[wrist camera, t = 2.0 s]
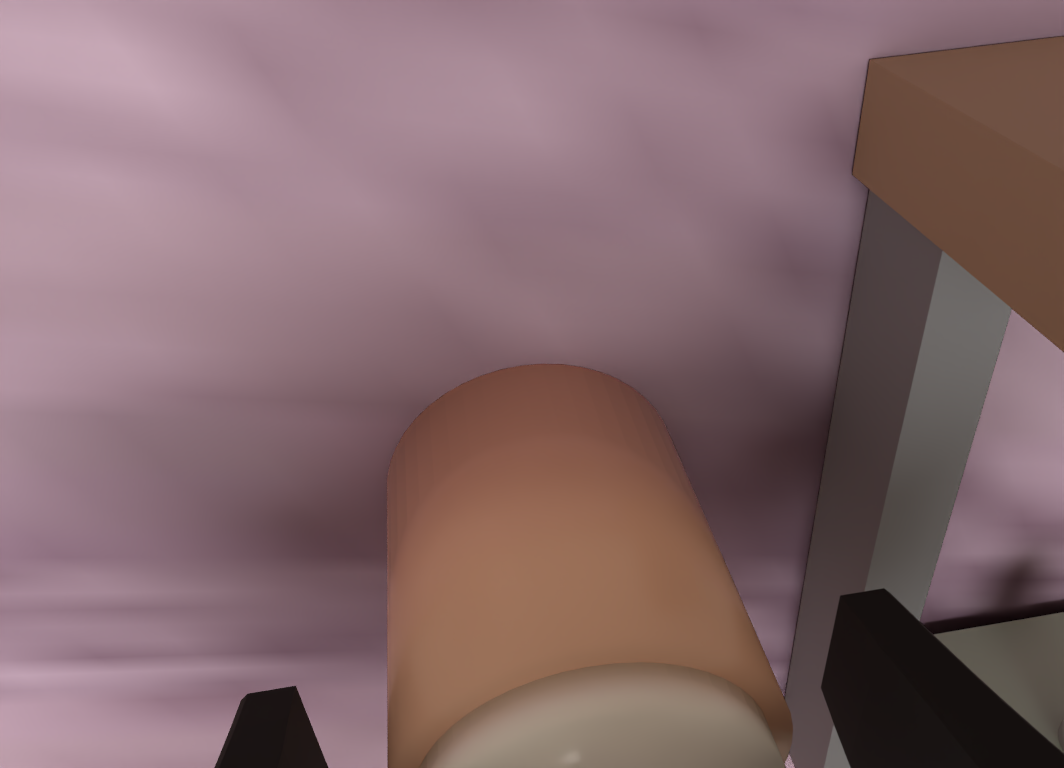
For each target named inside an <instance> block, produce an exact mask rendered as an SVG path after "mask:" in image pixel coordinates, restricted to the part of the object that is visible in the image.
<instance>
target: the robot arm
mask: <svg viewBox="0 0 1064 768" xmlns="http://www.w3.org/2000/svg"><path fill="white" fill-rule="evenodd" d="M821 690H822V692H823V695H824V698H825V701H826V704H827V706H828V709H829V712H830V715H831V718H832V720H833V723H834V726H835V729H836V731H837V734H838V736H839V739H840V742H841V744H842V747H843V749H844V752H845V755H846V757H847V760H848V762H849V765H850V767H851V768H1064V753H1063V752H1062V751H1061V750H1060V749H1058V748H1057V747H1056V746H1055V745H1054V744H1053V743H1051V742H1050V741H1049V740H1048V739H1047V738H1046V737H1044V736H1043V735H1042V734H1041V733H1040V732H1039V731H1038V730H1037V729H1035V728H1034V727H1033V726H1032V725H1031V724H1030V723H1029V722H1028V721H1026V720H1025V719H1024V718H1023V717H1022V716H1021V715H1020V714H1019V713H1017V712H1016V711H1015V710H1014V709H1013V708H1012V707H1011V706H1010V705H1008V704H1007V703H1006V702H1005V701H1004V700H1003V699H1002V698H1000V697H999V696H998V695H997V694H996V693H995V692H994V691H993V690H992V689H991V688H990V687H988V686H987V685H986V684H985V683H984V682H983V681H982V680H981V679H980V678H979V677H978V676H977V675H976V674H974V673H973V672H972V671H971V670H970V669H969V668H968V667H967V666H966V665H965V664H964V663H963V662H962V661H961V660H960V659H958V658H957V657H956V656H955V655H954V654H953V653H952V652H951V651H950V650H949V649H948V648H947V647H946V646H945V645H944V644H943V643H942V642H941V641H940V640H939V639H937V638H936V637H935V636H934V635H933V634H932V633H931V632H930V631H929V630H928V629H927V628H926V627H925V626H924V625H923V624H922V623H921V622H920V621H919V620H918V619H917V618H916V617H915V616H914V615H913V614H912V613H911V612H910V611H908V610H907V609H906V608H905V607H904V606H903V605H902V604H901V603H900V602H899V601H898V600H897V599H896V598H895V597H894V596H893V595H892V594H891V593H890V592H888V591H887V590H886V589H884V588H882V589H876V590H870V591H864V592H858V593H852V594H846V595H840V599H839V603H838V608H837V613H836V618H835V622H834V627H833V632H832V637H831V641H830V646H829V651H828V655H827V660H826V665H825V670H824V674H823V679H822V684H821ZM215 768H328V766H327V763H326V761H325V758H324V756H323V753H322V751H321V748H320V746H319V743H318V741H317V738H316V736H315V733H314V731H313V728H312V726H311V723H310V721H309V718H308V716H307V713H306V711H305V708H304V706H303V703H302V700H301V698H300V695H299V693H298V690H297V688H296V686H292V687H286V688H280V689H274V690H268V691H262V692H256V693H250V694H247V695H246V696H245V697H244V698H243V699H242V700H241V702H240V705H239V707H238V710H237V713H236V715H235V718H234V721H233V723H232V726H231V728H230V731H229V733H228V736H227V738H226V741H225V743H224V746H223V748H222V751H221V753H220V756H219V758H218V761H217V763H216V765H215Z"/></svg>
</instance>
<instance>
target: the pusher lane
mask: <svg viewBox="0 0 1064 768" xmlns="http://www.w3.org/2000/svg"><path fill="white" fill-rule="evenodd" d="M852 175H853V176H854V177H855V178H857V179H858V180H859V181H860V182H861V183H863V184H864V185H865V186H866V187H867V188H869V189H870V190H869V196H868V202H867V208H866V214H865V220H864V226H863V232H862V238H861V244H860V250H859V256H858V262H857V268H856V274H855V280H854V286H853V292H852V298H851V304H850V310H849V316H848V322H847V328H846V334H845V340H844V346H843V352H842V358H841V364H840V370H839V376H838V382H837V388H836V394H835V400H834V406H833V412H832V418H831V424H830V430H829V436H828V442H827V448H826V454H825V460H824V466H823V472H822V478H821V484H820V490H819V496H818V502H817V508H816V514H815V520H814V526H813V532H812V538H811V544H810V550H809V556H808V562H807V568H806V574H805V580H804V586H803V592H802V598H801V604H800V610H799V616H798V622H797V628H796V634H795V640H794V646H793V652H792V659H791V665H790V671H789V677H788V683H787V689H786V695H785V701H786V703H787V706H788V708H789V710H790V713H791V718H792V724H793V735H792V744H791V747H790V751H789V754H790V756H791V759H792V761H793V764H794V766H795V768H851V767H850V765H849V762H848V760H847V757H846V755H845V752H844V749H843V747H842V744H841V742H840V739H839V736H838V734H837V731H836V729H835V726H834V723H833V720H832V718H831V715H830V712H829V709H828V706H827V704H826V701H825V698H824V695H823V692H822V690H821V684H822V679H823V674H824V670H825V665H826V660H827V655H828V651H829V646H830V641H831V637H832V632H833V627H834V622H835V618H836V613H837V608H838V603H839V599H840V595H846V594H852V593H858V592H864V591H870V590H876V589H882V588H884V589H886V590H887V591H888V592H890V593H891V594H892V595H893V596H894V597H895V598H896V599H897V600H898V601H899V602H900V603H901V604H902V605H903V606H904V607H905V608H906V609H907V610H908V611H910V612H911V613H912V614H913V615H914V616H915V617H916V618H917V619H918V620H919V621H920V618H921V614H922V611H923V607H924V604H925V601H926V597H927V594H928V591H929V587H930V584H931V580H932V577H933V574H934V570H935V567H936V563H937V560H938V557H939V553H940V550H941V547H942V543H943V540H944V536H945V533H946V530H947V526H948V523H949V519H950V516H951V513H952V509H953V506H954V503H955V499H956V496H957V492H958V489H959V486H960V482H961V479H962V475H963V472H964V469H965V465H966V462H967V459H968V455H969V452H970V448H971V445H972V442H973V438H974V435H975V431H976V428H977V425H978V421H979V418H980V415H981V411H982V408H983V404H984V401H985V398H986V394H987V391H988V387H989V384H990V381H991V377H992V374H993V371H994V367H995V364H996V360H997V357H998V354H999V350H1000V347H1001V343H1002V340H1003V337H1004V333H1005V330H1006V327H1007V323H1008V320H1009V316H1010V313H1011V310H1012V309H1013V310H1014V311H1015V312H1016V313H1018V314H1019V315H1020V316H1021V317H1022V318H1024V319H1025V320H1026V321H1027V322H1028V323H1030V324H1031V325H1032V326H1033V327H1034V328H1036V329H1037V330H1038V331H1039V332H1040V333H1042V334H1043V335H1044V336H1045V337H1046V338H1047V339H1049V340H1050V341H1051V342H1052V343H1053V344H1055V345H1056V346H1057V347H1058V348H1059V349H1061V350H1062V351H1063V352H1064V36H1062V37H1053V38H1045V39H1037V40H1028V41H1020V42H1012V43H1003V44H995V45H987V46H978V47H970V48H962V49H954V50H945V51H937V52H929V53H920V54H912V55H904V56H895V57H887V58H879V59H871V60H870V62H869V68H868V75H867V82H866V88H865V95H864V101H863V108H862V114H861V121H860V128H859V134H858V141H857V147H856V154H855V160H854V167H853V174H852Z"/></svg>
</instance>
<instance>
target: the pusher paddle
mask: <svg viewBox="0 0 1064 768" xmlns="http://www.w3.org/2000/svg"><path fill="white" fill-rule="evenodd" d="M933 635H934V636H935V637H936V638H937V639H939V640H940V641H941V642H942V643H943V644H944V645H945V646H946V647H947V648H948V649H949V650H950V651H951V652H952V653H953V654H954V655H955V656H956V657H957V658H958V659H960V660H961V661H962V662H963V663H964V664H965V665H966V666H967V667H968V668H969V669H970V670H971V671H972V672H973V673H974V674H976V675H977V676H978V677H979V678H980V679H981V680H982V681H983V682H984V683H985V684H986V685H987V686H988V687H990V688H991V689H992V690H993V691H994V692H995V693H996V694H997V695H998V696H999V697H1000V698H1002V699H1003V700H1004V701H1005V702H1006V703H1007V704H1008V705H1010V706H1011V707H1012V708H1013V709H1014V710H1015V711H1016V712H1017V713H1019V714H1020V715H1021V716H1022V717H1023V718H1024V719H1025V720H1026V721H1028V722H1029V723H1030V724H1031V725H1032V726H1033V727H1034V728H1035V729H1037V730H1038V731H1039V732H1040V733H1041V734H1042V735H1043V736H1044V737H1046V738H1047V739H1048V740H1049V741H1050V742H1051V743H1053V744H1054V745H1055V746H1056V747H1057V748H1058V749H1060V750H1061V751H1062V752H1063V753H1064V612H1061V613H1056V614H1050V615H1044V616H1038V617H1032V618H1026V619H1021V620H1015V621H1009V622H1003V623H997V624H992V625H986V626H980V627H974V628H968V629H962V630H957V631H951V632H945V633H939V634H933Z"/></svg>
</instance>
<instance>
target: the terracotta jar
mask: <svg viewBox="0 0 1064 768" xmlns="http://www.w3.org/2000/svg"><path fill="white" fill-rule="evenodd" d="M387 713H388V768H786V767H785V764H784V763H785V761H786V759H787V757H788V754H789V751H790V747H791V744H792V735H793V724H792V718H791V713H790V710H789V708H788V706H787V703H786V701H785V699H784V696H783V694H782V692H781V689H780V687H779V685H778V683H777V680H776V678H775V676H774V673H773V671H772V669H771V667H770V664H769V662H768V660H767V657H766V655H765V653H764V651H763V648H762V646H761V644H760V641H759V639H758V637H757V634H756V632H755V630H754V628H753V625H752V623H751V621H750V618H749V616H748V614H747V612H746V609H745V607H744V605H743V602H742V600H741V598H740V596H739V593H738V591H737V589H736V586H735V584H734V582H733V580H732V577H731V575H730V573H729V570H728V568H727V566H726V563H725V561H724V559H723V557H722V554H721V552H720V550H719V547H718V545H717V543H716V541H715V538H714V536H713V534H712V531H711V529H710V527H709V525H708V522H707V520H706V518H705V515H704V513H703V511H702V509H701V506H700V504H699V502H698V499H697V497H696V495H695V492H694V490H693V488H692V486H691V483H690V481H689V479H688V476H687V474H686V472H685V470H684V467H683V465H682V463H681V460H680V458H679V456H678V454H677V451H676V449H675V447H674V444H673V442H672V440H671V438H670V435H669V433H668V431H667V428H666V426H665V424H664V421H663V420H662V418H661V417H660V415H659V414H658V412H657V411H656V409H655V408H654V407H653V406H652V405H651V404H650V403H649V402H648V400H647V399H646V398H645V397H644V396H642V395H641V394H640V393H638V392H637V391H636V390H635V389H633V388H632V387H630V386H629V385H627V384H625V383H623V382H622V381H620V380H618V379H616V378H614V377H611V376H609V375H607V374H604V373H602V372H599V371H595V370H591V369H587V368H583V367H578V366H571V365H563V364H534V365H523V366H517V367H512V368H506V369H501V370H498V371H495V372H491V373H488V374H485V375H482V376H479V377H477V378H475V379H472V380H470V381H468V382H466V383H463V384H461V385H459V386H458V387H456V388H454V389H452V390H451V391H449V392H447V393H446V394H444V395H443V396H441V397H440V398H439V399H437V400H436V401H435V402H433V403H432V404H431V405H429V406H428V407H427V408H426V409H425V410H424V411H423V412H422V413H421V414H420V415H419V416H418V417H417V418H416V419H415V420H414V421H413V423H412V424H411V425H410V426H409V428H408V429H407V430H406V431H405V433H404V434H403V436H402V438H401V440H400V441H399V443H398V445H397V446H396V449H395V451H394V454H393V456H392V459H391V462H390V466H389V471H388V476H387Z"/></svg>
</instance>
